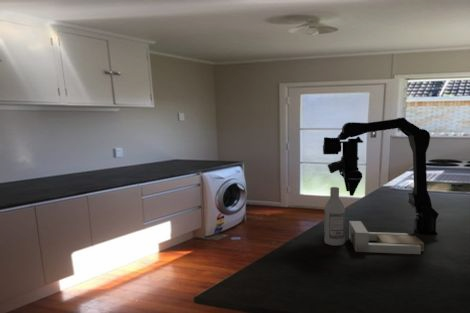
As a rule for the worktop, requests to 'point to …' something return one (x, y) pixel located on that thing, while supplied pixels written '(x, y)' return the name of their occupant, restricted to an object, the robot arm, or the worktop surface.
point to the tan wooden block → (400, 240)
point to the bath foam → (334, 219)
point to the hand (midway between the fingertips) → (349, 193)
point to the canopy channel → (362, 238)
